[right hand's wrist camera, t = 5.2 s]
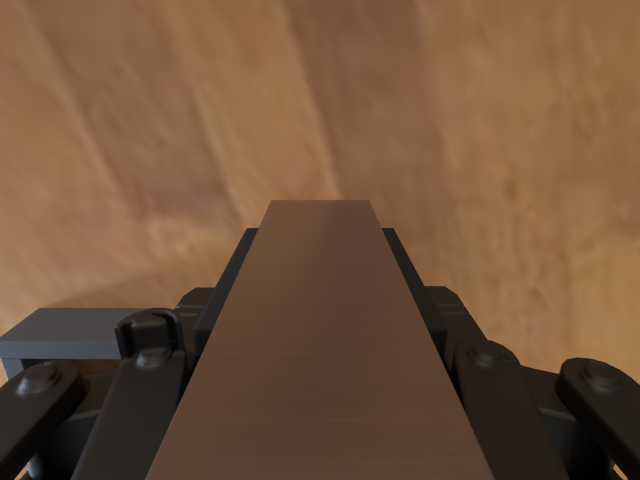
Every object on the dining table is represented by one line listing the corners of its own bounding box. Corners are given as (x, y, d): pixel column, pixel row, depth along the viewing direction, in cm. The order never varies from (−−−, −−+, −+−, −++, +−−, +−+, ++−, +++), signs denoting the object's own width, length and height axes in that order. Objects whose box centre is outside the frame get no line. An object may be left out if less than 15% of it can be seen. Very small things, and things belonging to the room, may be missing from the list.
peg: (275, 287, 17) (186, 671, 6) (270, 199, 15) (140, 485, 4) (365, 286, 17) (454, 671, 6) (369, 199, 15) (500, 485, 4)
